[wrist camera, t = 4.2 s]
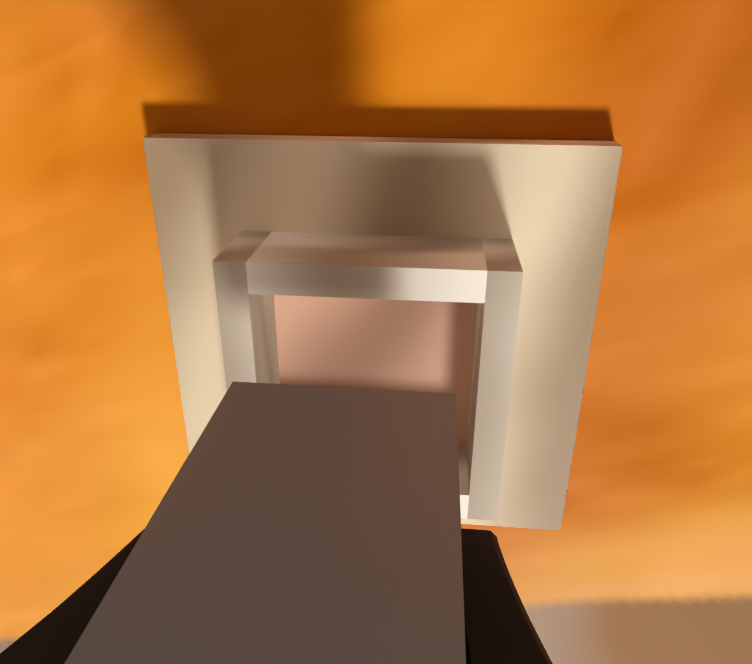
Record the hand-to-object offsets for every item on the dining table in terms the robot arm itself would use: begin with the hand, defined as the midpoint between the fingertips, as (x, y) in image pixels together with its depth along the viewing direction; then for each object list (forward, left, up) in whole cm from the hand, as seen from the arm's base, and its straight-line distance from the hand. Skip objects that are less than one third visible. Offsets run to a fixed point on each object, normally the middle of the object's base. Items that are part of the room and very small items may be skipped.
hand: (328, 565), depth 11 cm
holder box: (0, +1, -9) cm, 9 cm away
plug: (0, 0, -2) cm, 2 cm away
